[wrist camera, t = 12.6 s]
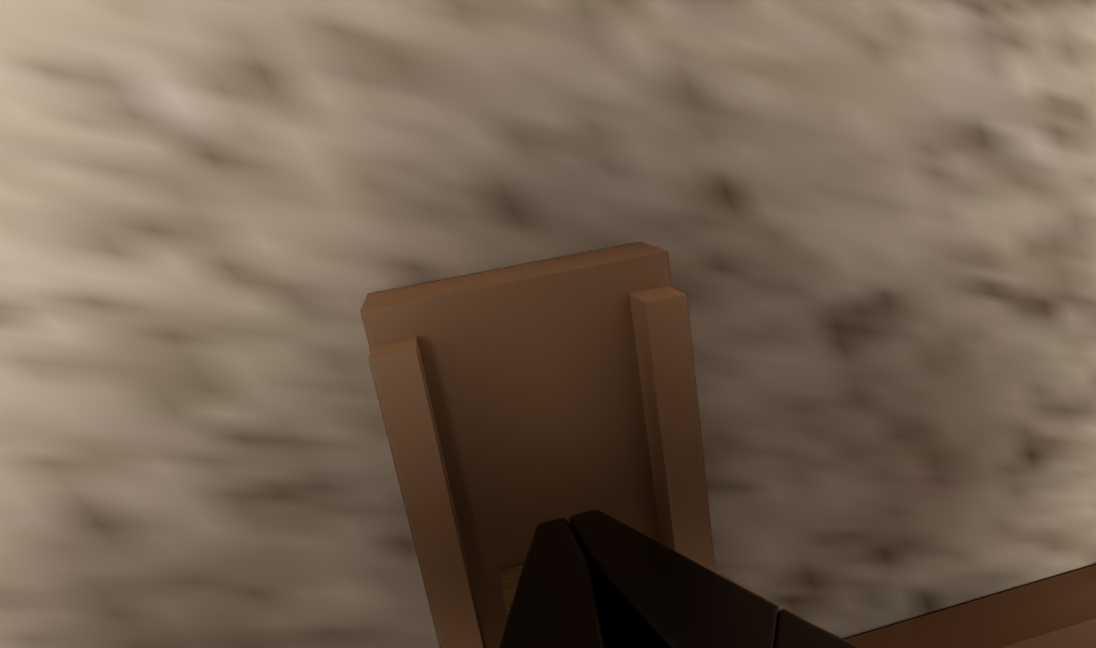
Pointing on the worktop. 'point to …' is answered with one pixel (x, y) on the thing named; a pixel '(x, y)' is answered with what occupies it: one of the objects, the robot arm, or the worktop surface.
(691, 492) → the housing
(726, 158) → the worktop surface
